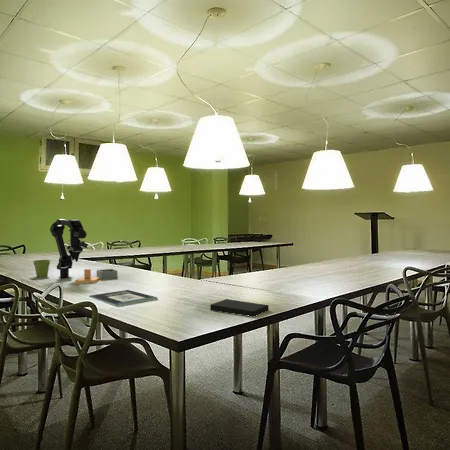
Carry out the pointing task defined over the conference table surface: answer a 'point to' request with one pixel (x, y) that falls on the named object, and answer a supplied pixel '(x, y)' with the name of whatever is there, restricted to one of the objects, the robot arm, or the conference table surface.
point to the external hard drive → (239, 307)
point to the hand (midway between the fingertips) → (75, 260)
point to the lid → (87, 278)
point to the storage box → (107, 274)
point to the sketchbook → (123, 297)
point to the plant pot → (41, 267)
